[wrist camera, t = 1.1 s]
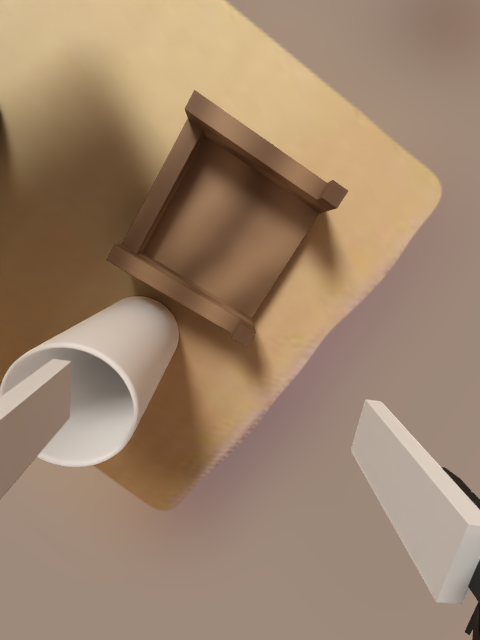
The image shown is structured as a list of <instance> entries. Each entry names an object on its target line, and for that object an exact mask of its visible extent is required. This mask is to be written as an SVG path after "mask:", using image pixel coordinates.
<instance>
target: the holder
mask: <svg viewBox="0 0 480 640" xmlns="http://www.w3.org/2000/svg"><path fill="white" fill-rule="evenodd" d="M185 111H186V114H187V117H188V119H187V121H186V123H185V125H184V127H183V129H182V131H181V132H180V134H179V136H178V138H177V140H176V142H175V144H174V146H173V148H172V150H171V152H170V153H169V155H168V157H167V159H166V161H165V163H164V165H163V167H162V169H161V171H160V173H159V175H158V176H157V178H156V180H155V182H154V184H153V186H152V188H151V190H150V192H149V194H148V196H147V197H146V199H145V201H144V203H143V205H142V207H141V209H140V211H139V213H138V215H137V217H136V218H135V220H134V222H133V224H132V226H131V228H130V230H129V232H128V234H127V236H126V238H125V239H124V241H123V243H122V244H117V245H114V246H113V248H112V250H111V252H110V254H109V256H108V258H107V261H109V262H110V263H112V264H114V265H116V266H117V267H119V268H121V269H122V270H124V271H126V272H128V273H129V274H131V275H133V276H134V277H136V278H138V279H140V280H141V281H143V282H145V283H146V284H148V285H150V286H151V287H153V288H155V289H157V290H158V291H160V292H162V293H163V294H165V295H167V296H169V297H170V298H172V299H174V300H175V301H177V302H179V303H181V304H182V305H184V306H186V307H187V308H189V309H191V310H192V311H194V312H196V313H198V314H199V315H201V316H203V317H204V318H206V319H208V320H210V321H211V322H213V323H215V324H216V325H218V326H220V327H222V328H223V329H225V330H227V331H228V332H230V333H232V339H234V340H235V341H237V342H239V343H241V344H242V345H244V346H246V347H247V345H248V344H249V342H250V341H251V339H252V338H253V336H254V335H255V333H256V332H255V328H254V324H253V320H252V317H253V315H254V314H255V312H256V311H257V309H258V308H259V306H260V304H261V303H262V301H263V300H264V298H265V297H266V295H267V294H268V292H269V290H270V289H271V287H272V286H273V284H274V283H275V281H276V280H277V278H278V276H279V275H280V273H281V272H282V270H283V269H284V267H285V266H286V264H287V262H288V261H289V259H290V258H291V256H292V255H293V253H294V252H295V250H296V248H297V247H298V245H299V244H300V242H301V241H302V239H303V238H304V236H305V234H306V233H307V231H308V230H309V228H310V227H311V225H312V224H313V222H314V220H315V219H316V217H317V216H318V214H319V213H322V212H325V211H329V210H332V209H336V208H338V206H339V205H340V203H341V201H342V200H343V198H344V197H345V195H346V194H347V192H348V190H346V189H345V188H344V187H342V186H341V185H339V184H338V183H336V182H335V181H334V180H332V181H330V182H329V183H326V182H325V181H323V180H322V179H321V178H319V177H318V176H316V175H315V174H314V173H312V172H311V171H309V170H308V169H306V168H305V167H304V166H302V165H301V164H299V163H298V162H296V161H295V160H294V159H292V158H291V157H289V156H288V155H286V154H285V153H284V152H282V151H281V150H279V149H278V148H276V147H275V146H274V145H272V144H271V143H269V142H268V141H266V140H265V139H264V138H262V137H261V136H259V135H258V134H256V133H255V132H254V131H252V130H251V129H249V128H248V127H246V126H245V125H244V124H242V123H241V122H239V121H238V120H236V119H235V118H234V117H232V116H231V115H229V114H228V113H226V112H225V111H224V110H222V109H221V108H219V107H218V106H216V105H215V104H214V103H212V102H211V101H209V100H208V99H207V98H205V97H204V96H202V95H201V94H199V93H198V92H197V91H195V90H194V92H193V94H192V96H191V98H190V99H189V101H188V103H187V105H186V107H185Z"/></svg>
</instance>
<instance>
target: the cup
mask: <svg viewBox="0 0 480 640" xmlns="http://www.w3.org/2000/svg"><path fill="white" fill-rule="evenodd" d="M178 341H179V330H178V325H177V322H176V320H175V318H174V316H173V315H172V313H171V312H170V311H169V310H168V309H167V308H166V307H165V306H164V305H163V304H161V303H160V302H158V301H156V300H154V299H151V298H148V297H143V296H133V297H128V298H125V299H122V300H120V301H118V302H116V303H114V304H113V305H111V306H109V307H107V308H105V309H104V310H102V311H100V312H98V313H96V314H95V315H93V316H91V317H89V318H87V319H85V320H84V321H82V322H80V323H78V324H76V325H75V326H73V327H71V328H69V329H67V330H66V331H64V332H62V333H60V334H58V335H56V336H55V337H53V338H51V339H49V340H47V341H46V342H44V343H42V344H40V345H38V346H37V347H35V348H33V349H31V350H30V351H28V352H26V353H25V354H24V355H22V356H21V357H20V358H18V359H17V360H16V361H15V362H14V363H13V364H12V365H11V366H10V368H9V369H8V371H7V372H6V374H5V376H4V378H3V380H2V383H1V386H0V397H1V396H2V395H4V394H5V393H7V392H8V391H9V390H11V389H12V388H13V387H15V386H16V385H18V384H19V383H20V382H22V381H23V380H24V379H26V378H27V377H29V376H30V375H31V374H33V373H34V372H36V371H37V370H38V369H40V368H41V367H42V366H44V365H45V364H47V363H48V362H49V361H51V360H52V359H59V360H67V361H72V363H71V395H70V418H69V419H68V421H67V422H66V423H65V424H64V425H63V426H62V428H61V429H60V430H59V431H58V432H57V433H56V435H55V436H54V437H53V438H52V439H51V441H50V442H49V443H48V444H47V445H46V446H45V448H44V449H43V450H42V451H41V452H40V453H39V455H38V456H37V458H39V459H42V460H44V461H46V462H49V463H52V464H55V465H60V466H66V467H85V466H91V465H95V464H98V463H101V462H104V461H106V460H108V459H110V458H111V457H113V456H114V455H116V454H117V453H118V452H119V451H121V450H122V449H123V448H124V446H125V445H126V444H127V443H128V441H129V440H130V439H131V437H132V435H133V434H134V432H135V430H136V428H137V426H138V424H139V422H140V420H141V418H142V416H143V414H144V412H145V410H146V408H147V406H148V404H149V402H150V400H151V398H152V396H153V394H154V392H155V390H156V388H157V386H158V384H159V382H160V380H161V378H162V376H163V374H164V372H165V370H166V368H167V366H168V364H169V362H170V360H171V358H172V356H173V354H174V352H175V350H176V348H177V345H178Z"/></svg>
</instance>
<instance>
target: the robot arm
mask: <svg viewBox="0 0 480 640" xmlns="http://www.w3.org/2000/svg"><path fill="white" fill-rule="evenodd" d="M71 363H72V361H67V360H59V359H52V360H51V361H49V362H48V363H47V364H45V365H44V366H42V367H41V368H40V369H38V370H37V371H36V372H34V373H33V374H31V375H30V376H29V377H27V378H26V379H24V380H23V381H22V382H20V383H19V384H18V385H16V386H15V387H13V388H12V389H11V390H9V391H8V392H7V393H5V394H4V395H2V396H1V397H0V499H1V498H2V497H3V496H4V495H5V493H6V492H7V491H8V490H9V489H10V488H11V486H12V485H13V484H14V483H15V482H16V480H17V479H18V478H19V477H20V476H21V475H22V473H23V472H24V471H25V470H26V469H27V468H28V466H29V465H30V464H31V463H32V462H33V461H34V459H35V458H36V457H37V456H38V455H39V453H40V452H41V451H42V450H43V449H44V448H45V446H46V445H47V444H48V443H49V442H50V441H51V439H52V438H53V437H54V436H55V435H56V433H57V432H58V431H59V430H60V429H61V428H62V426H63V425H64V424H65V423H66V422H67V421H68V419H69V418H70V395H71ZM351 452H352V454H353V456H354V458H355V459H356V461H357V463H358V465H359V466H360V468H361V470H362V472H363V474H364V475H365V477H366V479H367V481H368V482H369V484H370V486H371V488H372V489H373V491H374V493H375V495H376V497H377V498H378V500H379V502H380V504H381V505H382V507H383V509H384V511H385V513H386V514H387V516H388V518H389V519H390V521H391V523H392V525H393V527H394V528H395V530H396V532H397V534H398V536H399V537H400V539H401V541H402V543H403V544H404V546H405V548H406V550H407V551H408V553H409V555H410V557H411V559H412V560H413V562H414V564H415V566H416V567H417V569H418V571H419V573H420V575H421V576H422V578H423V580H424V581H425V583H426V585H427V587H428V588H429V590H430V592H431V594H432V596H433V598H434V599H435V601H436V602H440V603H441V602H442V603H453V604H462V602H463V599H464V597H465V595H466V593H467V590H468V588H470V590H471V591H472V593H473V594H474V596H475V597H476V599H477V600H478V604H477V606H476V608H475V611H474V613H473V615H472V617H471V619H470V622H469V624H468V626H467V628H466V630H465V632H466V633H467V634H469V635H470V633H471V631H472V630H473V640H480V499H479V498H478V497H477V496H476V495H475V494H474V493H472V492H471V490H470V489H469V488H468V487H467V486H466V485H465V484H464V482H463V481H462V480H461V479H460V478H458V477H457V476H456V475H454V474H453V473H452V472H450V471H449V470H447V469H446V468H444V467H440V466H439V465H438V463H437V462H436V461H435V460H434V459H433V458H432V457H431V456H430V455H429V453H428V452H427V451H426V450H425V449H424V448H423V447H422V446H421V445H420V444H419V443H418V441H417V440H416V439H415V438H414V437H413V436H412V435H411V434H410V433H409V432H408V430H407V429H406V428H405V427H404V426H403V425H402V424H401V423H400V422H399V421H398V419H397V418H396V417H395V416H394V415H393V414H392V413H391V412H390V411H389V410H388V408H387V407H386V406H385V405H384V404H383V403H382V402H381V401H373V400H365V402H364V406H363V410H362V413H361V416H360V420H359V423H358V427H357V430H356V434H355V437H354V441H353V444H352V448H351Z"/></svg>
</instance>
